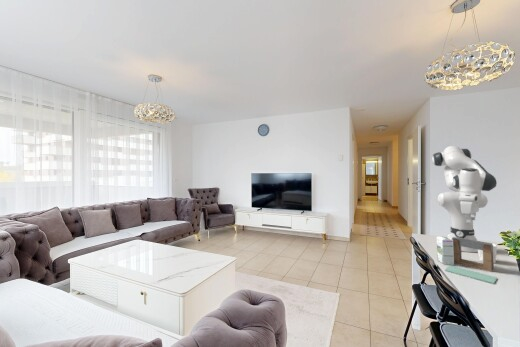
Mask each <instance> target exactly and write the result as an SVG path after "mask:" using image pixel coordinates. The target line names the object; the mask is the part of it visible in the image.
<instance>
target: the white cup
mask: <svg viewBox="0 0 520 347" xmlns="http://www.w3.org/2000/svg"><path fill="white" fill-rule="evenodd" d="M492 245H493V264H496V261H497V248H498V246H497V244H495V243H492ZM477 254H478V259H479V261H481V262H483V250H478V252H477Z"/></svg>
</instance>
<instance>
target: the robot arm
mask: <svg viewBox="0 0 520 347" xmlns="http://www.w3.org/2000/svg"><path fill="white" fill-rule="evenodd" d="M472 155H473V154H472V153H471V151H470V150H469V148H460V147H459V146H457V145H450V146H447V147H445V148H444V150H443V151H438V152H435V153H433V154H432V158H431V161H432V164H433V165H434V166H436V167H442V166H444V167H443V168H444V169H443V175H444V182H445V184H446V187H447V189H449V190H450V191H445V192H440V193H439V194H438V196H437V198H436V200H437V203H438V204H439V205H440V206H441V207H442V208H444V209H445V210H446V211H447V212H448V214H449V217H450V224H451V226H450V229H449V230H450V233H448V234H447V237H448V238H450V239H452V238H453V237H458V238H463V239H469V240H475V241H478V239H477V237H476V236H475V229H474V221H476V216H477V213H479V210H480V209H481V208H485V207H486V206H487V204H488V202H489V200H488V198H487V196H486V195H485V194H484V193H482V192H490V191H491V190H494V189H495V188H496V187H497V182H498V181H497V179H496V177H495V176H494V175H493V174H491V173H489V172H488V171H487V169H485V168H484V166H482V164H480V163H479V162H478V161H477V160H476V159H472ZM461 252H465V253H478V249H473V248H468V247H463V246H461Z"/></svg>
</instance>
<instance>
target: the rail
mask: <svg viewBox="0 0 520 347" xmlns="http://www.w3.org/2000/svg"><path fill="white" fill-rule="evenodd" d="M452 240H457V241H459V246H463V247H468V248H473V249H478V250H483V245H485V246H490V247H491V252H492V251H493V248H492V244H493V242H492V243H491V242H486V241H481V240H480V241H479V240H477V241H475V240H469V239H463V238H458V237H453V238H452Z"/></svg>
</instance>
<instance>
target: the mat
mask: <svg viewBox="0 0 520 347" xmlns="http://www.w3.org/2000/svg"><path fill="white" fill-rule="evenodd" d="M444 271H445V272H448V273H451V274H456V275H458V274H459V276H462V275H463V276H462V277H467V278H469V277H470V279H473V278H474V279H473V280H476V281H480V282H485V283H488V284H492V285H495V283H496V282H497V279H498V277H496V276H492V275H490V274H487V273H486V274H485V273H481V272H478V271H473V270H471V269H466V268H462V267H458V266H455V265H448V266H447V267H446V268H445V269H444Z"/></svg>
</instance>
